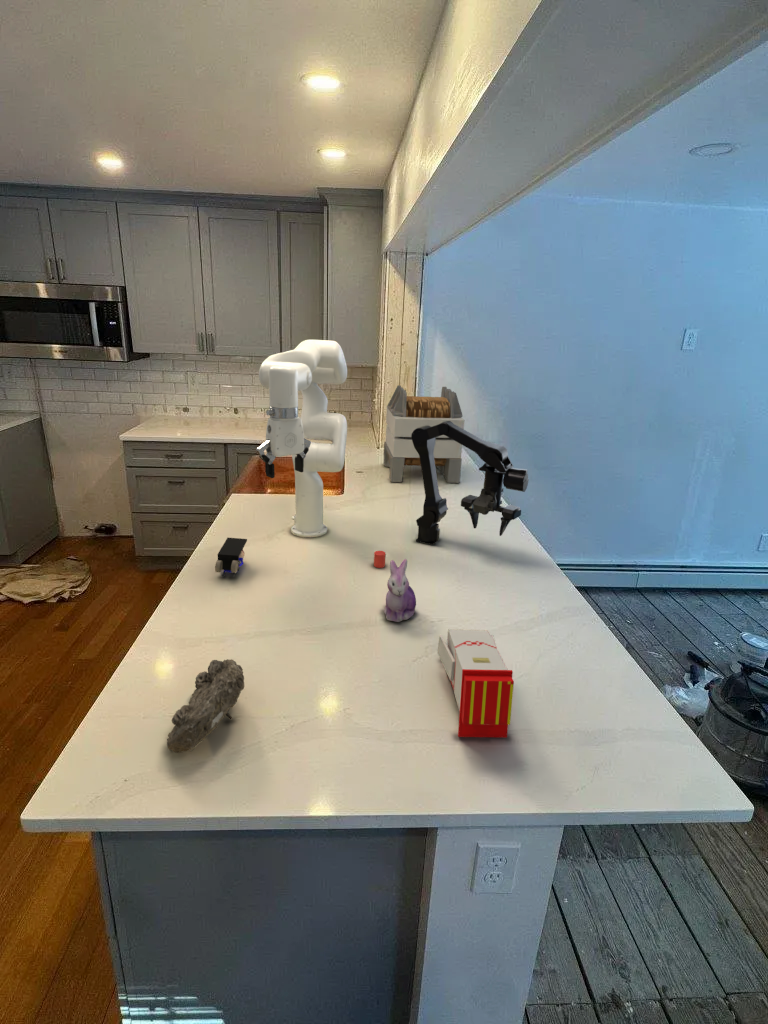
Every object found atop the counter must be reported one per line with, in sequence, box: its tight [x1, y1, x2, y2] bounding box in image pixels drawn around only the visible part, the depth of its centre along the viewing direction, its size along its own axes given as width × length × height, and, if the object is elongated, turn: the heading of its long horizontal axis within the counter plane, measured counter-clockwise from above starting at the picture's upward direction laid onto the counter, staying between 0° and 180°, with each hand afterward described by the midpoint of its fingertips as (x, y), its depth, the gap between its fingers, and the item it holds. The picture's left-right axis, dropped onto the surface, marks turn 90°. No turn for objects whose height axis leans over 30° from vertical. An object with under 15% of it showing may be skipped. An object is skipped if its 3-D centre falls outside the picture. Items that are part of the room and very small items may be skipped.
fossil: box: [166, 658, 245, 754], centre depth 106 cm, size 22×10×15 cm
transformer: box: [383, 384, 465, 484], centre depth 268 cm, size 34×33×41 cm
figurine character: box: [214, 537, 248, 578], centre depth 166 cm, size 7×8×15 cm
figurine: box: [384, 558, 417, 623], centre depth 145 cm, size 9×10×15 cm
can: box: [373, 550, 387, 569], centre depth 174 cm, size 4×4×4 cm
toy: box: [437, 628, 515, 738], centre depth 117 cm, size 12×13×30 cm
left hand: (285, 474), depth 158 cm, fingers open, 9 cm apart
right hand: (487, 531), depth 183 cm, fingers open, 9 cm apart
